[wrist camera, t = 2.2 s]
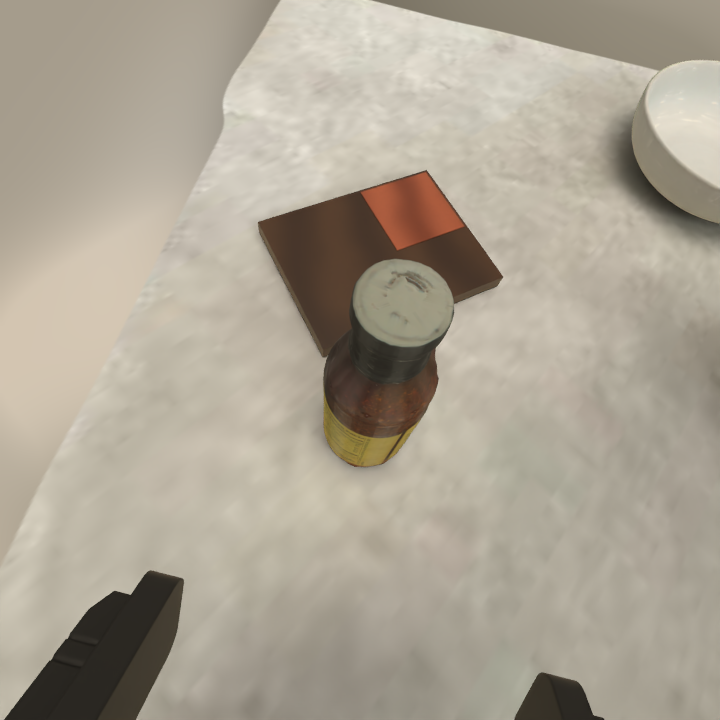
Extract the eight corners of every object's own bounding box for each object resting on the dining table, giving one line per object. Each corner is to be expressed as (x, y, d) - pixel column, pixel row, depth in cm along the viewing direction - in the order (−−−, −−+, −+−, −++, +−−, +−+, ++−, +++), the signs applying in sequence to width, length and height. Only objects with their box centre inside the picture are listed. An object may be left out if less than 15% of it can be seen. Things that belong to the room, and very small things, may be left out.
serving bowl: (574, 124, 53) (609, 66, 47) (716, 108, 58) (765, 52, 52) (667, 268, 46) (724, 221, 39) (822, 236, 50) (896, 189, 44)
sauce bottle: (380, 382, 37) (448, 211, 19) (415, 451, 35) (528, 331, 17) (306, 412, 36) (304, 254, 18) (338, 486, 34) (373, 395, 16)
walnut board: (423, 181, 47) (426, 169, 46) (497, 286, 43) (504, 276, 41) (259, 232, 42) (257, 221, 41) (322, 357, 38) (323, 349, 36)
